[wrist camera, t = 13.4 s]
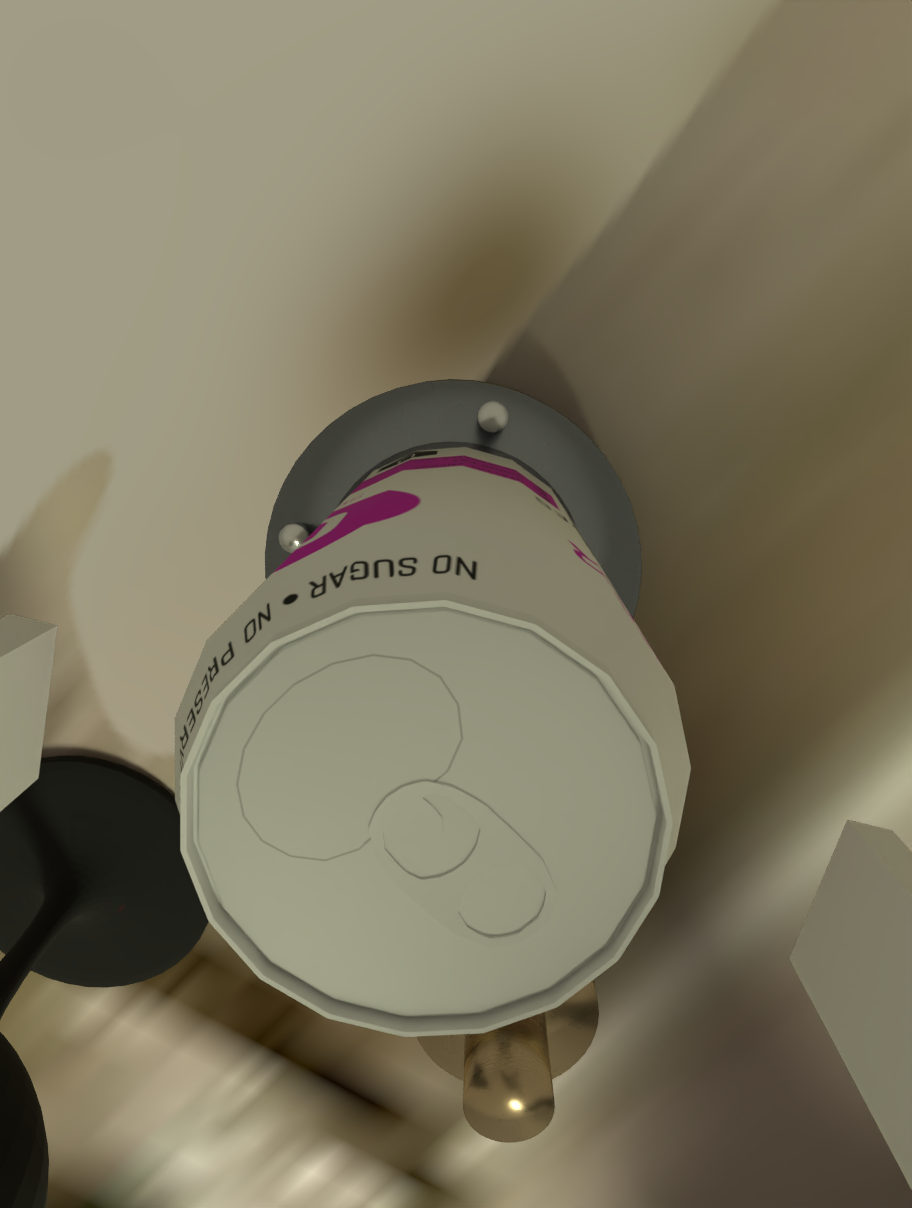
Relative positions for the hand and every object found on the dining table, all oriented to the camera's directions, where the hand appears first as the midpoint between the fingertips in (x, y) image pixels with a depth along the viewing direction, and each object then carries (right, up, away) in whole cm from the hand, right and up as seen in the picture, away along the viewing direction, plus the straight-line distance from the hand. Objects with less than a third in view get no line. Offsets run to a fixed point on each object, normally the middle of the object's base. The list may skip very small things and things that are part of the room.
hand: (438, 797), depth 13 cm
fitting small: (+2, -12, +20) cm, 23 cm away
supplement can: (0, +4, +13) cm, 14 cm away
